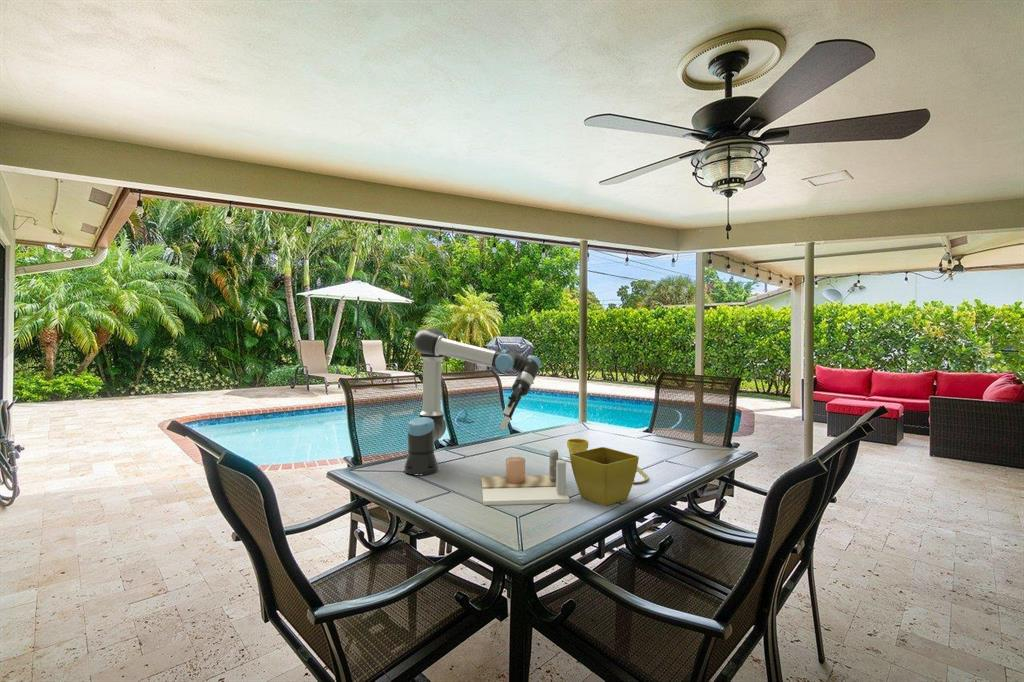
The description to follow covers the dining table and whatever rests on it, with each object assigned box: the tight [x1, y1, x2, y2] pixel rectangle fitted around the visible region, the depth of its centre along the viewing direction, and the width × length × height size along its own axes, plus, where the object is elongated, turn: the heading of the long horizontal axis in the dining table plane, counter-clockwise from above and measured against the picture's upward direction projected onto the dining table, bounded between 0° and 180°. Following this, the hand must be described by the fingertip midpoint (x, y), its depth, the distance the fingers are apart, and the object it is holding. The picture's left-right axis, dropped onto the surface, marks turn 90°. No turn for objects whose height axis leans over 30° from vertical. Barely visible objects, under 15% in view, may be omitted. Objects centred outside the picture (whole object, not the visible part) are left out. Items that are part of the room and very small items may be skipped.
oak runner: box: [480, 449, 559, 490], centre depth 204 cm, size 32×14×14 cm, turn 95°
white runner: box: [481, 459, 571, 506], centre depth 188 cm, size 32×14×14 cm, turn 95°
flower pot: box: [569, 446, 640, 507], centre depth 187 cm, size 19×19×17 cm
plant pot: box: [566, 438, 589, 455], centre depth 242 cm, size 10×10×10 cm
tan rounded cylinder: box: [505, 456, 526, 484], centre depth 204 cm, size 8×8×9 cm
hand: (503, 421), depth 209 cm, fingers open, 13 cm apart
